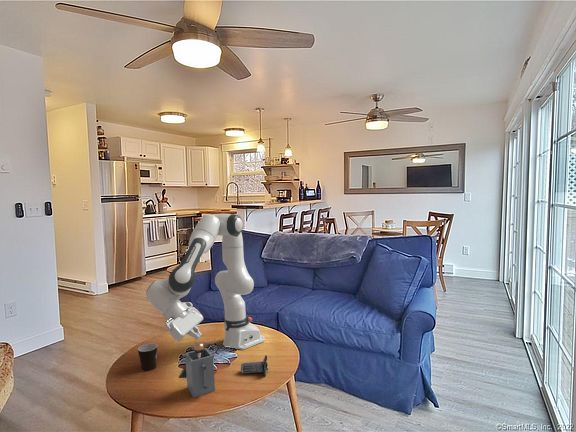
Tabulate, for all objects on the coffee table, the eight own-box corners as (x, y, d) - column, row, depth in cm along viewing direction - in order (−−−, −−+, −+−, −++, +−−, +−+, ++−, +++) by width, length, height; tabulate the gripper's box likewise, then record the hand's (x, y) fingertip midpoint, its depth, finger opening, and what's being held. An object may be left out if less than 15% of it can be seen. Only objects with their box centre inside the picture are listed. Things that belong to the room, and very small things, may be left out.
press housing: (207, 381, 155) (206, 347, 154) (217, 393, 145) (215, 358, 144) (187, 387, 151) (185, 353, 150) (195, 400, 141) (193, 364, 140)
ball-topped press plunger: (205, 370, 153) (203, 339, 152) (210, 377, 148) (208, 344, 147) (190, 375, 150) (188, 343, 149) (194, 382, 144) (193, 348, 143)
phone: (204, 359, 174) (197, 375, 159) (204, 361, 174) (197, 377, 159) (188, 360, 174) (179, 376, 159) (188, 362, 174) (179, 378, 159)
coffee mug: (151, 373, 164) (150, 352, 163) (135, 371, 165) (133, 350, 165) (165, 361, 175) (164, 341, 174) (149, 359, 177) (148, 340, 176)
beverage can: (268, 371, 165) (243, 373, 165) (267, 354, 166) (241, 356, 166) (267, 378, 156) (239, 380, 156) (265, 360, 157) (238, 361, 157)
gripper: (168, 317, 138) (192, 343, 137) (192, 300, 158) (214, 323, 157) (158, 328, 139) (182, 353, 138) (183, 310, 159) (204, 332, 158)
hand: (199, 337), depth 147 cm, fingers closed
